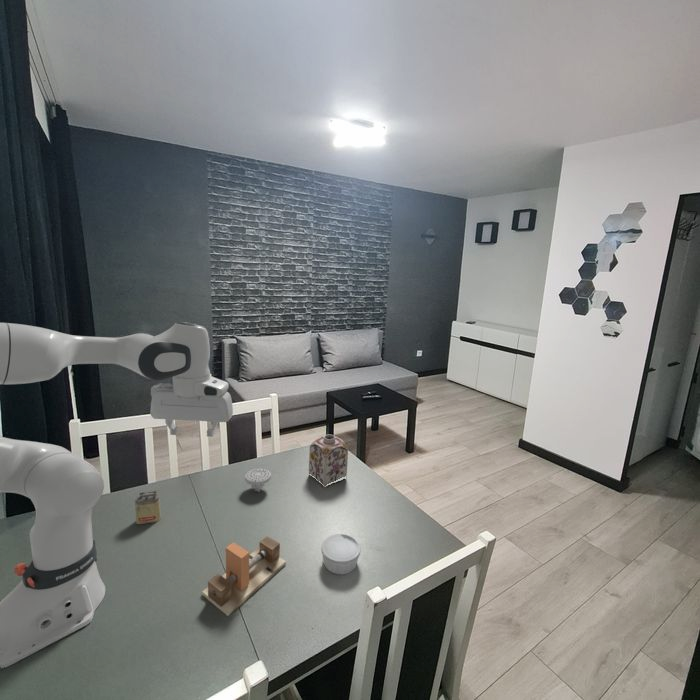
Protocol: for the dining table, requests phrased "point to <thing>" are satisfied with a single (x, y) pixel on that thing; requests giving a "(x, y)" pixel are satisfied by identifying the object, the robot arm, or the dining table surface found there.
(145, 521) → the lighter
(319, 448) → the decorative jar
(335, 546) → the ramekin
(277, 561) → the rod stand
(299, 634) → the dining table surface
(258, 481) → the showerhead
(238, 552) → the collar
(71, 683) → the dining table surface
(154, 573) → the dining table surface
